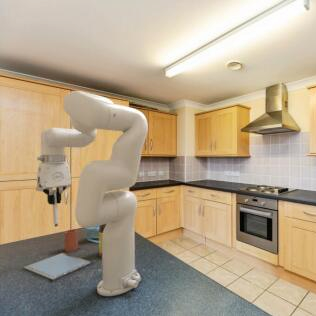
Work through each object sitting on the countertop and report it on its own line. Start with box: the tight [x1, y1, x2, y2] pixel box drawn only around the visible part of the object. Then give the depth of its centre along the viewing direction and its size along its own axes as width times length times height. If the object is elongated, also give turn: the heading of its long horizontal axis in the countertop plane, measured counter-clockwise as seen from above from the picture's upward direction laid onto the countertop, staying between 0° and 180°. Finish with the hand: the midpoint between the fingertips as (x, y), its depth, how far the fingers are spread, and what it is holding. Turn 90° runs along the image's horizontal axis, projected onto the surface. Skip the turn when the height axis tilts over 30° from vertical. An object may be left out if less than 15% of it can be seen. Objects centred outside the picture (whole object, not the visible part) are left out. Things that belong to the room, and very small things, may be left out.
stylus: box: [52, 189, 59, 227], centre depth 87 cm, size 1×1×15 cm
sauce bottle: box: [98, 224, 106, 258], centre depth 93 cm, size 7×6×20 cm
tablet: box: [22, 252, 92, 282], centre depth 83 cm, size 20×13×1 cm, turn 66°
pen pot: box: [64, 228, 79, 253], centre depth 97 cm, size 5×5×9 cm
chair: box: [85, 226, 99, 244], centre depth 108 cm, size 8×8×12 cm
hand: (54, 203), depth 88 cm, fingers closed on stylus, 1 cm apart
